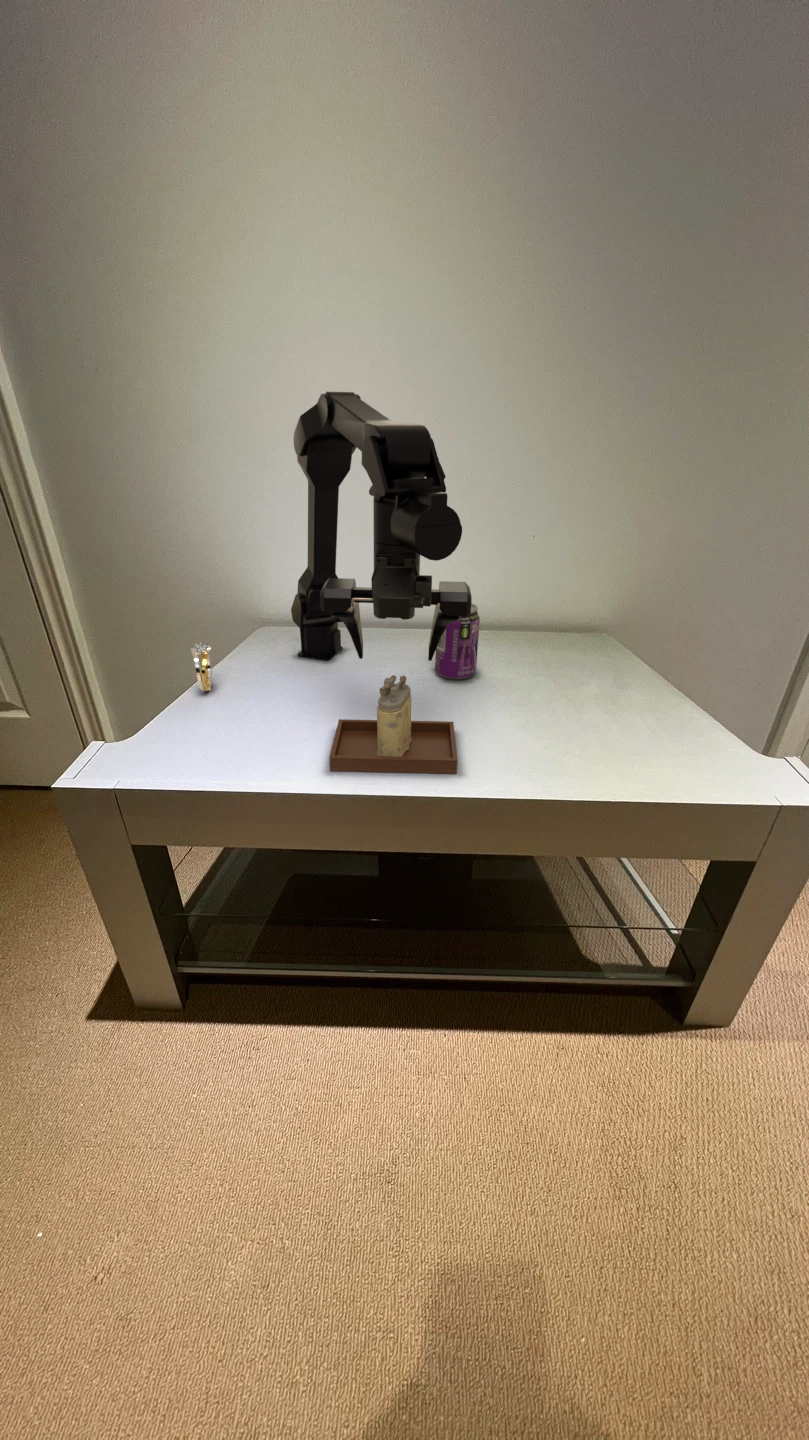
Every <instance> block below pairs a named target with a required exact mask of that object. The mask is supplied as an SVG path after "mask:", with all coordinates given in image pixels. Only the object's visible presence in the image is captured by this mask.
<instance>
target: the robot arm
mask: <svg viewBox="0 0 809 1440" xmlns="http://www.w3.org/2000/svg"><path fill="white" fill-rule="evenodd" d="M296 423H297V424H296V426H295V429H294V431H293V439H292V441H293V449H294V452H295V455H296V458H297V459H296V460H297V464H298V465H299V467H300V469H301V471H302V472H303V474H304V476H305V478H306V479H307V565H306V566H307V567H306V569H305V570H304V571H303V573H302V575H301V576H300V578H299V579H298V581H297V593H295V596H294V597H293V598H294V599H293V602H292V604H291V609H290V613H291V618H292V622H293V623H294V624H295V625H296V626H297V627H298V629H299V637H300V649H301V650H300V651H299V652H298V653H297V657H299V658H305V659H312V660H317V661H324V662H329V661H331V660H333V658H335V657H336V656H337V655H338V654H339V653H340V652H341V651H343V650H344V649H343V648H344V647H343V646H342V637H341V635H342V633H341V629H339V623H343V624H344V626H345V628H346V629H347V631H348V633H349V635H350V638H351V641H352V643H353V646H354V648H355V652H356V653H357V656H358V659H359V660H363V658H364V640H363V639H364V638H363V629H362V628H363V627H362V621H361V620H362V619H361V612H360V611H361V610H360V604H373V605H372V606H373V616H374V617H375V618H377V619H382V620H386V619H387V618H389V619H401V620H410V619H413V618H414V617H415V615H416V613H415V612H416V610H415V609H424V607H431V606H434V613H433V619H432V624H431V629H430V635H429V643H428V652H427V653H428V654H427V661H429V662H432V660H433V658H434V655H435V654H436V648H437V646H438V643H439V641H440V638H441V636H442V634H443V633H444V631H445V629H446V627H447V626H448V625H449V624H450V623H451V622H456V621H459V619H460V616H469V615H471V603H472V599H473V598H472V597H473V596H472V592H471V588H470V586H469V585H468V583H467V582H466V581H448V580H447V581H445V580H440V581H438V582H439V583H438V589H434V588H433V589H432V587H433V576H432V575H425V574H424V575H422V574H420V573H421V557H423V558H425V559H427V560H429V561H435V562H437V561H441V560H445V559H447V558H449V556H451V555H452V554H453V553H454V552H455V551H456V550H457V548H458V547H459V544H460V542H461V539H462V534H463V525H462V522H461V519H460V517H459V514H458V513H457V512H456V510H455V509H454V508H452V507H451V506H449V505H448V493H447V486H446V482H445V479H446V477H447V476H446V474H445V471H444V469H443V467H442V464H441V462H440V459H439V457H438V453H437V450H436V449H437V448H436V446H435V445H436V444H435V441H434V439H433V438H432V436H431V435H432V434H431V433H430V431H429V429H428V428H427V427H426V426H425V425H423V424H420V423H416V422H415V423H414V422H411V421H409V422H408V421H399V420H393V419H390V418H388V417H387V416H385V415H384V414H382V413H381V412H379V411H378V410H377V409H375V408H374V407H372V406H371V405H370V404H368V403H367V402H365V401H364V400H362V398H361V396H360V394H358V393H355V392H354V391H326V392H325V393H321V394H320V396H319V398H318V400H317V403H315V404H314V405H313V406H312V407H310V408H309V409H308V410H306V411H305V412H304V413H302V414H301V415H300V416H299V418H298V421H297V422H296ZM356 449H358V450H359V451H360V453H361V462H360V464H361V466H362V467H363V469H364V470H365V472H366V474H367V476H368V478H369V480H370V482H371V486H370V487H369V489H368V494H369V495H370V496H371V497H373V501H372V502H373V572H372V575H371V587H367V586H366V587H365V586H364V587H363V586H362V587H361V586H357V583H356V582H357V581H356V578H346V577H345V578H343V577H342V578H340V577H338V575H337V546H338V519H339V514H338V513H339V494H340V493H339V492H340V486H341V485H342V483H343V482H344V480H345V478H346V477H347V476H348V474H349V472H350V471H351V467H352V458H353V454H354V453H355V451H356Z"/></svg>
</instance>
